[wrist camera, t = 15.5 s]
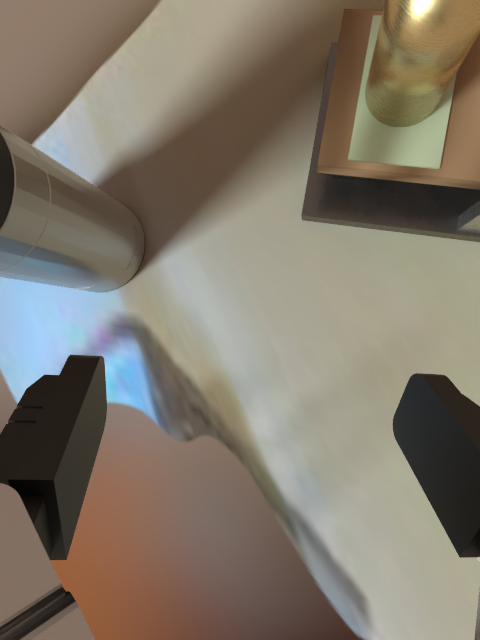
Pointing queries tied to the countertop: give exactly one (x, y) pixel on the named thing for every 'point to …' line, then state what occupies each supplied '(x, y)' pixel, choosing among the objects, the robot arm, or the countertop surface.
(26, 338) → the countertop surface
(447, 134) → the plank
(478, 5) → the cylinder
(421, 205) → the pivot stand
